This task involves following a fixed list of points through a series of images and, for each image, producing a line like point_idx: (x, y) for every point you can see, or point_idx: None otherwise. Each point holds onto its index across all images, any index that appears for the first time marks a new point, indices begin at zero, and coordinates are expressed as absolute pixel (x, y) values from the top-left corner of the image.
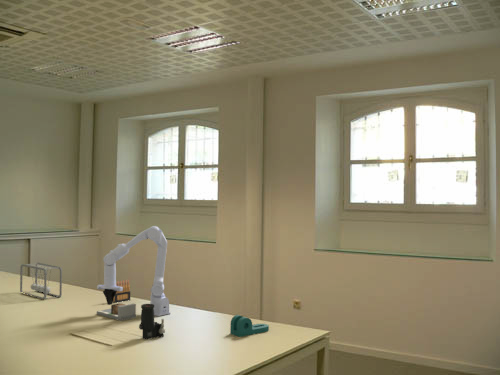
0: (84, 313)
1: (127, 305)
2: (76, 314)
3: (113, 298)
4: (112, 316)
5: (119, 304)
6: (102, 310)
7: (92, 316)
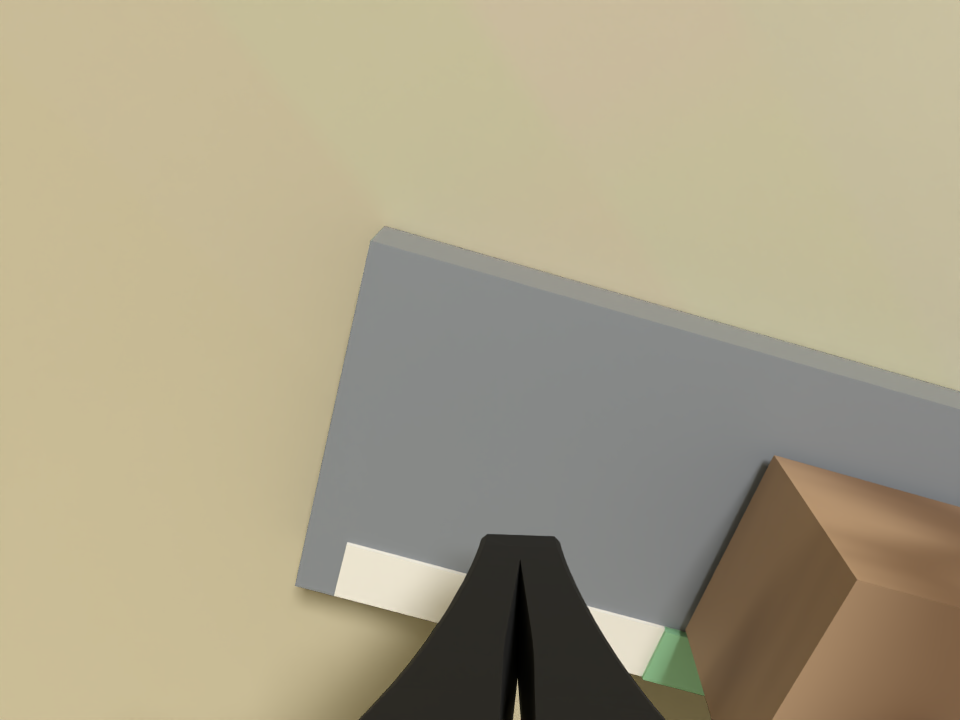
0: (84, 577)
1: None
2: (45, 669)
3: (605, 642)
4: None
5: (938, 708)
6: (343, 498)
7: (369, 677)
